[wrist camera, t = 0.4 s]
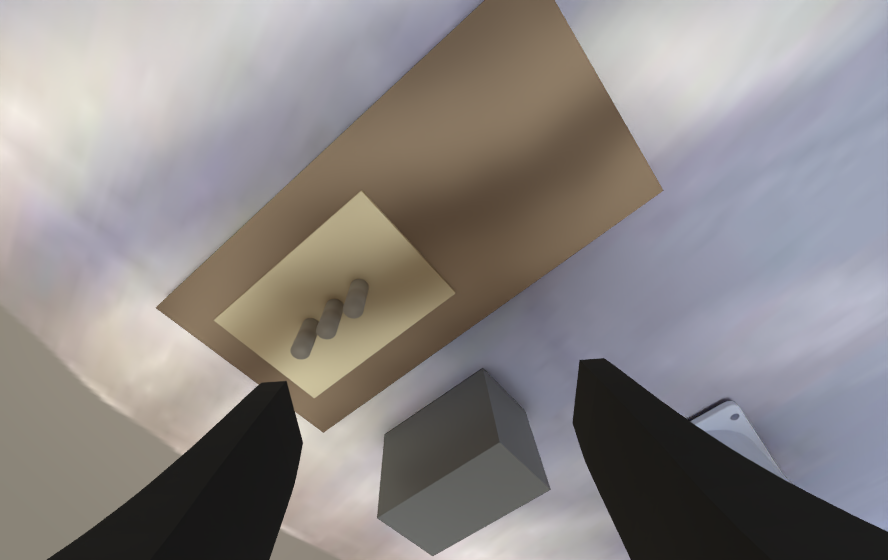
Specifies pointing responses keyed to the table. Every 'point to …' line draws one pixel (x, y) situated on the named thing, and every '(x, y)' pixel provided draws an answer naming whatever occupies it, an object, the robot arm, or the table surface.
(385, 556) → the table surface
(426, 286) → the pin board
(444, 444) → the block
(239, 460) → the robot arm
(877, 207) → the table surface
